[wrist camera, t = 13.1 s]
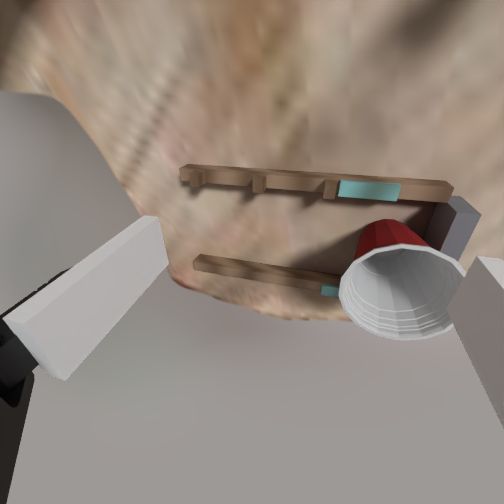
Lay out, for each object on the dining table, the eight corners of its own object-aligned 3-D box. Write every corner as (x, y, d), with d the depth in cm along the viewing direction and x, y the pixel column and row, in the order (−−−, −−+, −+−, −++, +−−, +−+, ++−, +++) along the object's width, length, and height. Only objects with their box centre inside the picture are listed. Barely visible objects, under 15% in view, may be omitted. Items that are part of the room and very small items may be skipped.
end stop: (404, 285, 36) (413, 310, 32) (440, 195, 29) (457, 212, 25) (421, 287, 35) (431, 313, 31) (461, 196, 29) (481, 214, 24)
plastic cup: (382, 179, 30) (403, 223, 20) (455, 232, 31) (509, 299, 21) (321, 242, 36) (315, 300, 26) (383, 285, 37) (398, 356, 27)
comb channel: (201, 262, 44) (189, 277, 40) (187, 163, 35) (170, 172, 32) (401, 294, 37) (408, 316, 33) (446, 180, 28) (461, 194, 25)
